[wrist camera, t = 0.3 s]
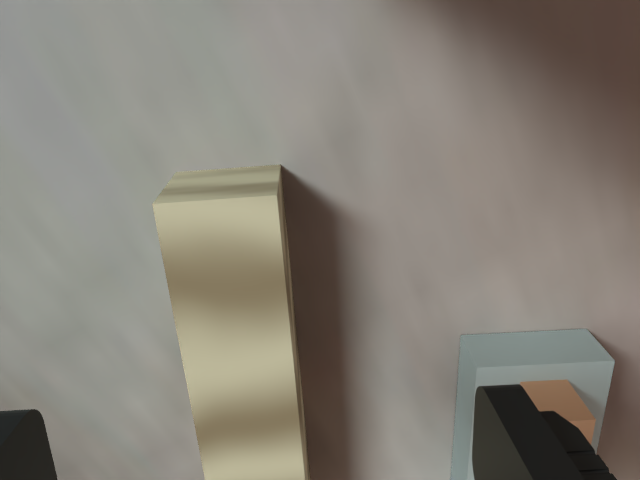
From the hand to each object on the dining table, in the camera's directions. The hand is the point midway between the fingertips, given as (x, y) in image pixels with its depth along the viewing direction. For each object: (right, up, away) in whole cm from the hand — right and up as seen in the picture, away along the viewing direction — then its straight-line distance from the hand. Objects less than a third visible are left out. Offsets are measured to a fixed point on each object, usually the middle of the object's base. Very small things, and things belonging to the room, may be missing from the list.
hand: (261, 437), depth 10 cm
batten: (-3, -3, +21) cm, 21 cm away
